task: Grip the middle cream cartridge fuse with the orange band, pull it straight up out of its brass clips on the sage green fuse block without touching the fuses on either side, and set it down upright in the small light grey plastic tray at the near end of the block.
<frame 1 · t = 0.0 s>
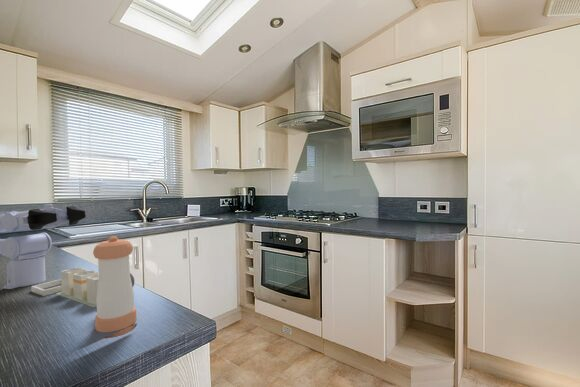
hand: (70, 215, 81), 22 cm above the countertop, tool horizontal, fingers open, 7 cm apart
tray: (54, 293, 81), on the countertop
salt shaker: (116, 329, 60), on the countertop
light bulb: (120, 313, 67), on the countertop
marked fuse: (86, 295, 75), point 1 cm above the countertop, touching fuse block
left fuse: (74, 291, 79), point 1 cm above the countertop, touching fuse block
fuse block: (86, 300, 75), on the countertop
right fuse: (100, 300, 72), point 1 cm above the countertop, touching fuse block
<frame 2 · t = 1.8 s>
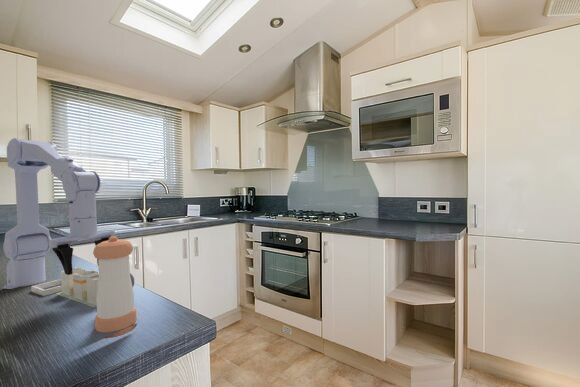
hand: (85, 270, 75), 8 cm above the countertop, tool pointing down, fingers open, 7 cm apart
nothing on the countertop moved.
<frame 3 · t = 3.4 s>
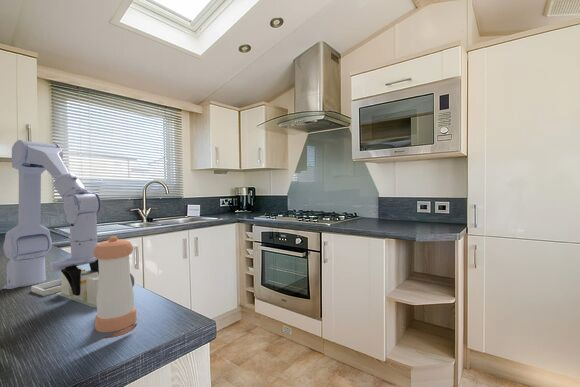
hand: (86, 291, 75), 2 cm above the countertop, tool pointing down, fingers closed on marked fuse, 4 cm apart
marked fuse: (86, 295, 75), point 1 cm above the countertop, touching fuse block, gripper
everything else where it was.
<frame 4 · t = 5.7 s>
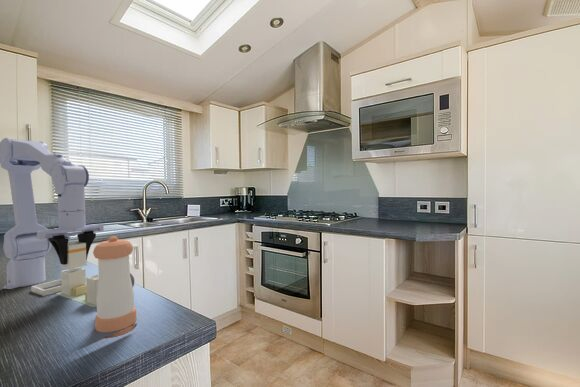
hand: (74, 261, 77), 10 cm above the countertop, tool pointing down, fingers closed on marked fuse, 4 cm apart
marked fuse: (74, 266, 77), point 9 cm above the countertop, touching gripper
everything else where it was.
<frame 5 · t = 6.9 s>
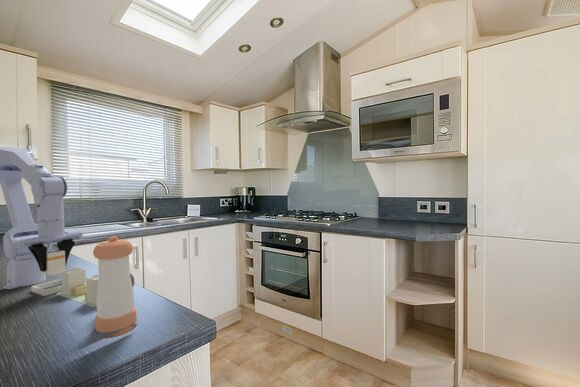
hand: (53, 268, 81), 7 cm above the countertop, tool pointing down, fingers closed on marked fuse, 4 cm apart
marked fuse: (53, 272, 81), point 6 cm above the countertop, touching gripper
everything else where it was.
when the fingers open (3 cm above the countertop, at t = 7.9 s): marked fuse drops 1 cm, resting on tray.
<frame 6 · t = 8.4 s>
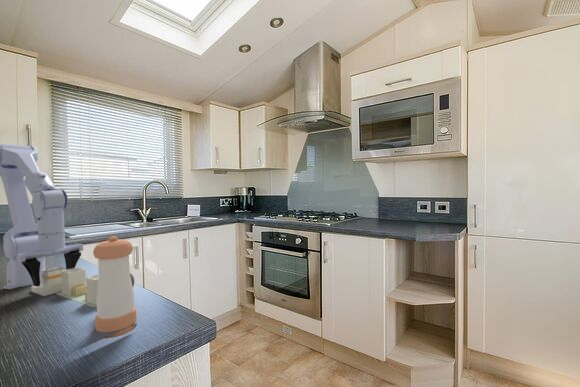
hand: (53, 281, 81), 3 cm above the countertop, tool pointing down, fingers open, 7 cm apart
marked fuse: (54, 290, 81), point 1 cm above the countertop, touching tray
everything else where it was.
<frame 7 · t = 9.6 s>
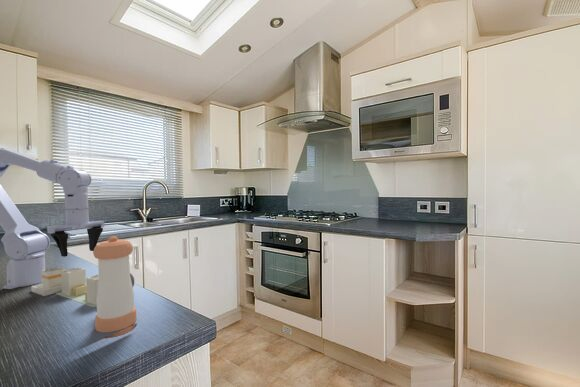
hand: (78, 253, 89), 9 cm above the countertop, tool pointing down, fingers open, 7 cm apart
nothing on the countertop moved.
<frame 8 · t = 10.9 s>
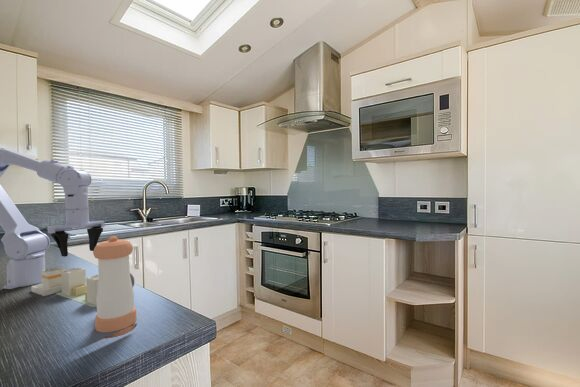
hand: (79, 253, 89), 9 cm above the countertop, tool pointing down, fingers open, 7 cm apart
nothing on the countertop moved.
at the end: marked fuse 0.2 cm off-centre on the tray, point 0.8 cm above the tray's base; left fuse moved 0.0 cm from its start; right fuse moved 0.0 cm from its start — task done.
